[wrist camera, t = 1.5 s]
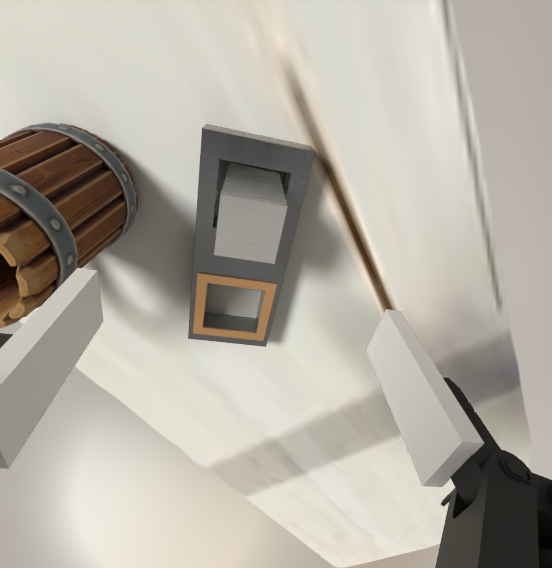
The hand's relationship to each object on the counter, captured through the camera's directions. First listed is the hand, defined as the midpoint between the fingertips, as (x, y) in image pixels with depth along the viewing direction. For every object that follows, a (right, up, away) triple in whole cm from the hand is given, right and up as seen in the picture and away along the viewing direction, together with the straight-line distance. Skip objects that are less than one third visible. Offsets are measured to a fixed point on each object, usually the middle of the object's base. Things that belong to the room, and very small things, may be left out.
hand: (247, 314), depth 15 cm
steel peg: (-1, +10, +15) cm, 18 cm away
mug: (-18, +9, +15) cm, 25 cm away
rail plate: (-2, +5, +18) cm, 19 cm away
